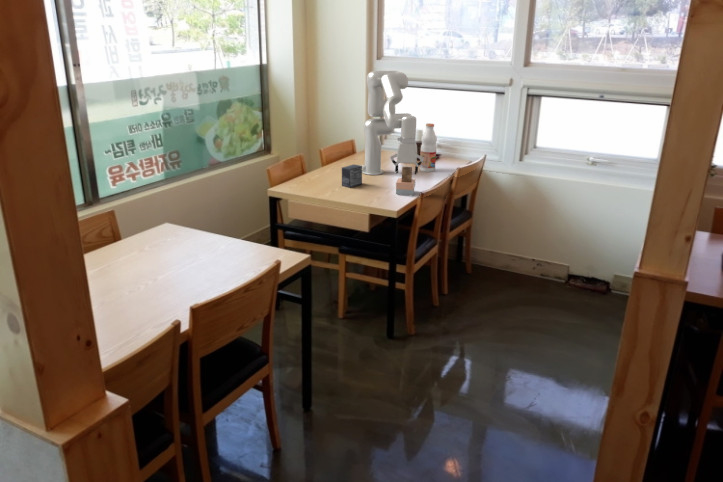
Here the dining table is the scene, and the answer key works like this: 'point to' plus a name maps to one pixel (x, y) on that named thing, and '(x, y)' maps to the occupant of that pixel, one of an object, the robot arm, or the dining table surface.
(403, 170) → the block
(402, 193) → the tower base
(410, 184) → the tower top
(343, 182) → the small box
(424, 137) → the fruit juice
